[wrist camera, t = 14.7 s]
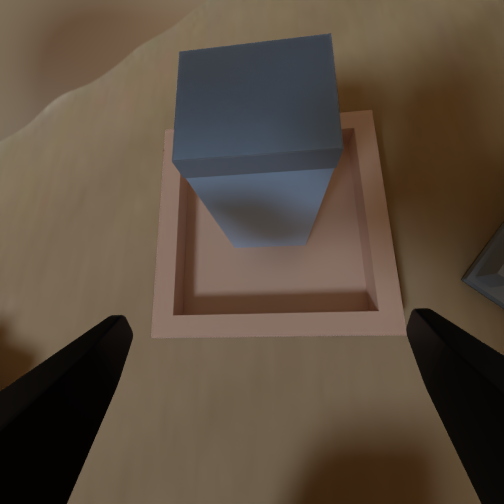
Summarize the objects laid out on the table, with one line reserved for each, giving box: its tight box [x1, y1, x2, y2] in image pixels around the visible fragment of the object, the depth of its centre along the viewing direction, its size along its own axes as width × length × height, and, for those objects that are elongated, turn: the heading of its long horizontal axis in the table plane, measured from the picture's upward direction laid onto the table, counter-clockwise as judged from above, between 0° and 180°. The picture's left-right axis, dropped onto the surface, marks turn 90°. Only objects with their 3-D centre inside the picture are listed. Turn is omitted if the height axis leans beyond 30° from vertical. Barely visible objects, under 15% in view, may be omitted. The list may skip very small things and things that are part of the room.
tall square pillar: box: [172, 33, 344, 248], centre depth 16 cm, size 5×6×13 cm
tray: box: [151, 110, 407, 338], centre depth 21 cm, size 18×18×2 cm
